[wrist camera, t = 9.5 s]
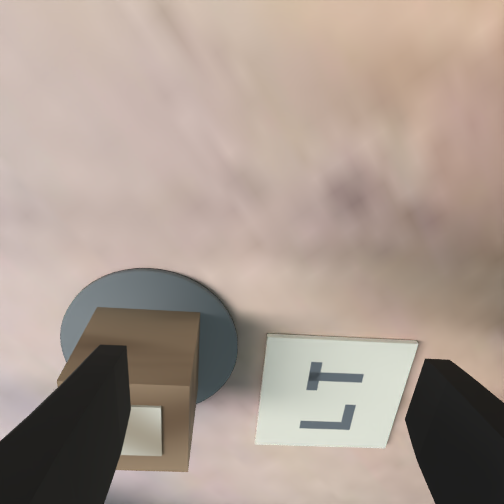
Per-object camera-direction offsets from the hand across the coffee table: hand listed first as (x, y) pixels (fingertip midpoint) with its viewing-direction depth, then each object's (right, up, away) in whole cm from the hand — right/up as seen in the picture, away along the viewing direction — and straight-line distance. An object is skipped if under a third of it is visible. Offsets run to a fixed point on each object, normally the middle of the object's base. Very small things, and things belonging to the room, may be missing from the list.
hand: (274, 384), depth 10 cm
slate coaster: (-6, -2, +12) cm, 13 cm away
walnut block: (-6, -2, +11) cm, 13 cm away
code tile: (+4, -5, +14) cm, 15 cm away
